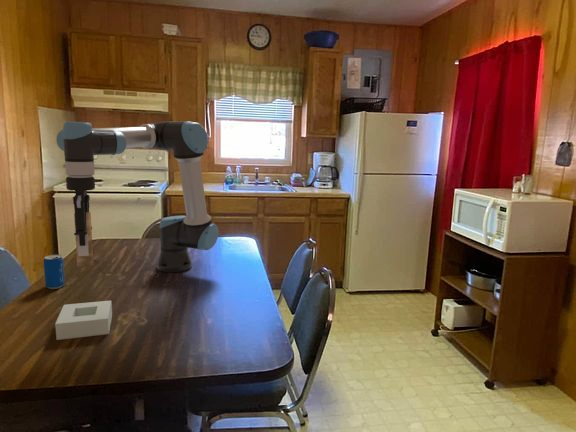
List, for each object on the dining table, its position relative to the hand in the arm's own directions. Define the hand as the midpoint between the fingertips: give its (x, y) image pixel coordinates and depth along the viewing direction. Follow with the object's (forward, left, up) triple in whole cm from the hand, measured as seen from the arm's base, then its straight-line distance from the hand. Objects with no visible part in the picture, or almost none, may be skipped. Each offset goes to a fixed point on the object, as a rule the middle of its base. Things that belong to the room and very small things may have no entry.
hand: (84, 253), depth 125 cm
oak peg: (0, 0, -4) cm, 4 cm away
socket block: (+1, 0, -23) cm, 23 cm away
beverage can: (+16, -38, -24) cm, 48 cm away
